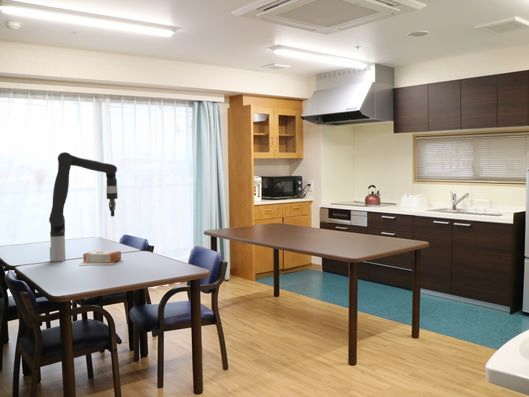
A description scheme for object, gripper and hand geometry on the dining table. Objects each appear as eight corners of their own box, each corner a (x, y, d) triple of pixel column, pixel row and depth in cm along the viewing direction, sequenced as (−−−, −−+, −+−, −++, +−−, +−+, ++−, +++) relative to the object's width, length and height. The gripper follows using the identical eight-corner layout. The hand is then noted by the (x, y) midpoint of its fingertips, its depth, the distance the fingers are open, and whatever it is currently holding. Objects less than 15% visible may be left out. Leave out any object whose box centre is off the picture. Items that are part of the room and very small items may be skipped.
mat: (79, 265, 322) (79, 265, 322) (85, 260, 340) (85, 259, 340) (112, 264, 325) (112, 263, 325) (117, 259, 342) (117, 258, 342)
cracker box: (111, 253, 327) (82, 253, 331) (111, 262, 328) (82, 262, 332) (121, 250, 341) (93, 250, 345) (121, 259, 341) (94, 258, 345)
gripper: (108, 191, 359) (109, 215, 360) (104, 192, 346) (105, 217, 347) (119, 191, 360) (119, 215, 361) (115, 192, 347) (116, 217, 348)
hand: (112, 216), depth 354 cm, fingers closed
